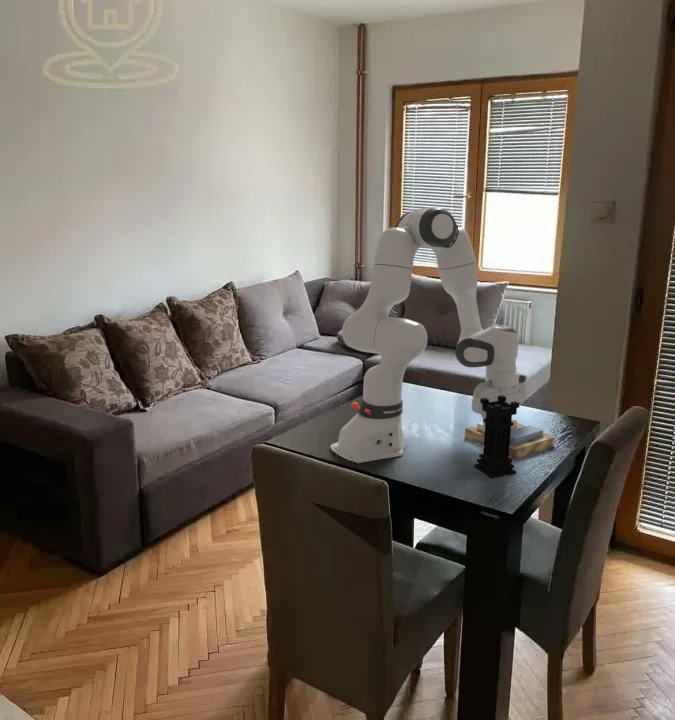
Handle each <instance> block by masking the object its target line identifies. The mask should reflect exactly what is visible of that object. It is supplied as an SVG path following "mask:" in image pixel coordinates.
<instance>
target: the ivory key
mask: <svg viewBox="0 0 675 720" xmlns="http://www.w3.org/2000/svg"><path fill="white" fill-rule="evenodd" d="M511 422H513V426H511V428H514V427H517V423H518V420H517V419H514V418H512V421H511ZM476 425H477V430H479V431H482V432H484V433H485V425H483V421H480V422H477V424H476Z"/></svg>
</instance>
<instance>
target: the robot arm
mask: <svg viewBox="0 0 675 720" xmlns="http://www.w3.org/2000/svg"><path fill="white" fill-rule="evenodd" d="M376 247H377V248H376V251H375V255H374V262H373V268H372V275H371V280H370V286H369V290H368V293H367V295H366V298H365V300H364V301H363V303H362V305H361V306H360V307H359V308H358V309H357V310H356V311H355V312H354V313H352V314H351V315H349V316H348V317H347V318H346V319H345V321H344V323H343V325H342V329H341V335H342V340H343V342H344V344H345V345H346V346H347V347H349V348H352V349H354V350H357V351H359V352H363V353H364V352H366V353H372V354H376V355H380V363H379V364H377V365H375V366H372V367H370V368H368V369H367V371H366V372H365V373H364V376H363V390H362V391H363V392H362V394H363V398H362V399H361V401H360V403H358V402H356V401H353V402H352V403H351V404H350V405H351V408H352V409H353V410H356V411H357V413H356V414H355V415H354V416H353V417H352V418H351V419H350V420H349V421H348V422H347V423H346V424H344V426H343V427H341V429H340V431H339V435H338V439H337V440H338V441H337V442H335V443H334V442H333V443H332V444H330V448H331V449H330V451H331V450H332V451H333V452H335V453H336V454H338V455H339V456H341V457H343V458H345V459H347V460H350V461H353V462H352V463H354V462H356V463H355V464H361V463H365V462H372V461H373V462H374V461H378V460H384V459H390V458H395V457H401V456H402V457H403V455H404V450H405V448H406V443H405V439H404V433H403V425H402V414H403V409H404V408H403V406H404V405H403V403H404V402H403V399H402V392H403V389H402V388H403V379H404V375H405V373H406V369H407V368H408V366H409V365H410V363H412V361H413V360H415V359H417V358H418V357H420V356H421V355H422V353H424V351H425V350H426V347H427V345H428V333H427V329H426V328H425V326H424V325H423V324H422V323H420V322H417V321H415V320H412V319H409V318H403V317H397V316H396V317H394V316H389V315H390V313H391V310H392V309H393V307H394V306H395V305H399V304H400V303H403V302H404V301H406V300H407V298H408V296H409V295H410V291H411V284H412V283H411V282H412V275H413V269H414V259H415V257H416V253H417V251H418V250H419V249H430V250H432V251H433V253H434V255H435V257H436V262H437V270H438V274H439V278H440V282H441V284H442V287H443V290H444V291H445V292H446V293H447V294H448V295H450V296H451V298H452V299H453V301H454V303H455V305H456V309H457V314H458V315H457V316H458V318H459V319H458V320H459V325H460V333H459V337H458V342H457V344H456V347H455V352H454V353H455V356H456V357H455V358H456V359H457V361H458V362H459V363H460V365H462V366H463V367H466V368H481V367H486V368H485V379H484V381H483V382H479V383H478V384H477V385H476V387H474V391H473V394H472V398H471V399H472V400H471V408H470V409H471V410H472V412H474V413H475V414H479V415H480V416H481V418H482V420H483V419H485V418H486V412H485V411H483V410H482V403H480V399H481V398H487V399H489V402H492V401H498V396H501V395H503V396H505V397H506V401H505V402H507V403H509V404H511V402H515V401H516V402H518V403H520V404H523V403H524V402H525V399H526V395H527V383H526V382H527V380H528V375H525V374H523V373H521V372H518V371H517V366H516V362H517V359H518V356H519V355H518V354H519V353H518V352H519V337H518V333H517V331H516V329H514V328H513V327H511V326H508V325H505V324H503V323H501V324H500V323H498V324H497V323H494V324H492V325H490V326H489V327H487V328H484V325H483V324H482V321H481V316H480V311H479V306H478V301H477V292H478V291H477V290H478V266H477V260H476V255H475V252H474V249H473V248H474V247H473V245H472V242H471V239H470V237H469V234H468V232H467V230H466V229H465V228H462V227H461V226H459V225H458V224H457V221H456V220H455V218H454V216H453V215H452V213H451V212H449V210H447V209H445V208H441V207H431V208H419V209H415V210H413V211H409V212H405V214H403V215H402V216H400V218H399V219H398V220H397V222H396V224H395V226H394V227H389V228H386V229H384V231H383V232H382V233H381V234H380V237H379V240H378V242H377V246H376ZM520 404H519V405H520ZM482 422H483V421H482ZM483 425H485V422H483ZM332 451H331V452H332ZM333 452H332V453H333ZM347 460H346V461H347ZM350 461H349V462H350Z"/></svg>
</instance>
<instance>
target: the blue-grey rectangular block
mask: <svg viewBox="0 0 675 720" xmlns="http://www.w3.org/2000/svg"><path fill="white" fill-rule="evenodd" d="M524 426H525V427H522V428H518V429H515V430H511V434H510V443H511V444H513V445H518V444H521V443H524V442H527V441H531V440H534V439H537V438H540V437H543V433H544V429H541V428H538V427H536V426H534V425H524Z"/></svg>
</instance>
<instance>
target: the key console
mask: <svg viewBox="0 0 675 720" xmlns="http://www.w3.org/2000/svg"><path fill="white" fill-rule="evenodd" d="M525 426H526V425H524V424H523V423H522V424H521V423H519V422H517V427H514V428H511V430H515V429H518V428H522V427H525ZM484 435H485V433H484V432H482V431H479V430H477V424H475V425H472V426H468V427H465V429H464V438H466V439H468V440H470V441H472V442H475V443H477V444H478V445H481V446H483V447H484ZM555 442H556V436H553V435H551V434H548V433H546V432H543V437H540V438H537V439H534V440H531V441H527V442H524V443H521V444H518V445H513V444H511V443H510V446H509V457H510V458H511V459H513V460H517V459H520V458H525V457H527V456H529V455H532V454H535V453H538V452H542V451H545V450H547V449H550V448H554V447H555Z"/></svg>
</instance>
